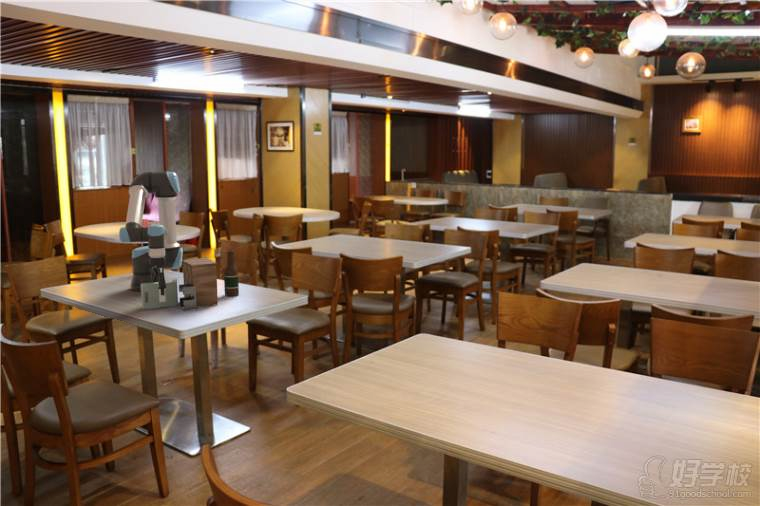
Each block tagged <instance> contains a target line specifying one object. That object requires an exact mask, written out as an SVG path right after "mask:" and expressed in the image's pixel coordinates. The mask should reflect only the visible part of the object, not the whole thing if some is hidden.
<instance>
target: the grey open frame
mask: <svg viewBox="0 0 760 506" xmlns="http://www.w3.org/2000/svg"><path fill="white" fill-rule="evenodd" d="M178 292H179V293H182V295H183V297H178V302H179V308H180V309H183V312H185V311H194V310H197V307H196V285H194V284H193V283H189V284H184V283H181V284H178ZM186 294H190V297H184V295H186Z"/></svg>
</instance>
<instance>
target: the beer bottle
mask: <svg viewBox="0 0 760 506" xmlns="http://www.w3.org/2000/svg"><path fill="white" fill-rule="evenodd" d="M226 254H227V261H226V262H227V263H226V266H225V268H224V271H223V284H224V285H223V287H224V296H225V297H230V298H231V297H232V298H233V297H238V296H239V293H240V292H239V291H240V290H239V286H240V285H239V284H240V283H239V271H238V268H237V266H236V264H235V255H234V254H235V251H234V250H227V252H226Z"/></svg>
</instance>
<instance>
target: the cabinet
mask: <svg viewBox="0 0 760 506" xmlns="http://www.w3.org/2000/svg"><path fill="white" fill-rule="evenodd" d="M217 267H218V263H217V262H216V261H214V260H212V259H210V258H208V257H202V258H201V257H200V258H189V259H182V272H183V273H182V275H183V284H189V283H193V284H194V285H196V308H200V307H201V308H202V307H209V306H216V305H217V306H218V305H219V304H218V302H219V299H218V273H217ZM183 297H190V294H186V295H183Z"/></svg>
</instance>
